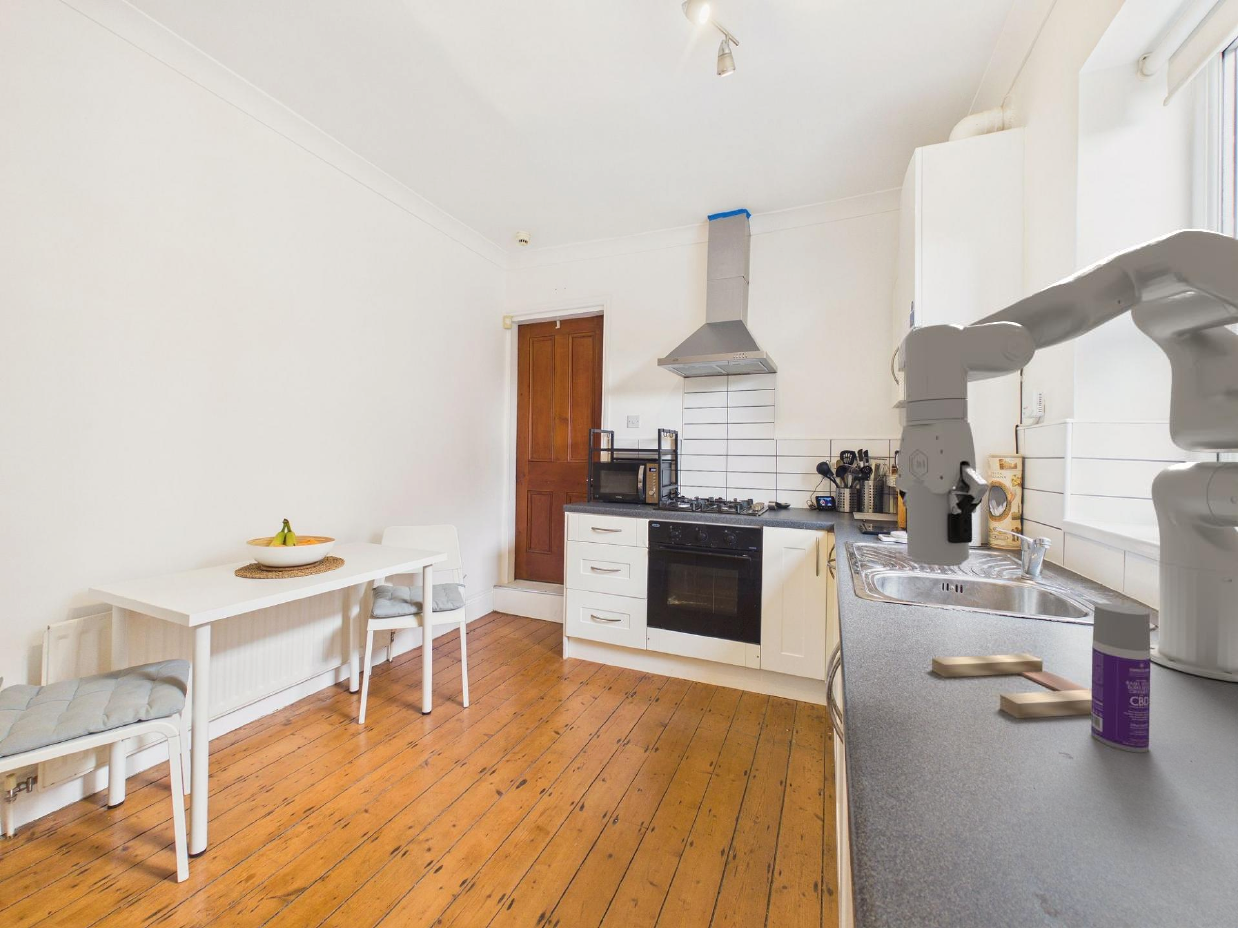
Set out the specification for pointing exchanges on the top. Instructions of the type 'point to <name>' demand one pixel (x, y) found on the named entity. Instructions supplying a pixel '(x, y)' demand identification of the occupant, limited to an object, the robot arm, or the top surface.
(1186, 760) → the top surface
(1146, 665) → the container
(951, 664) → the channel
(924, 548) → the can
